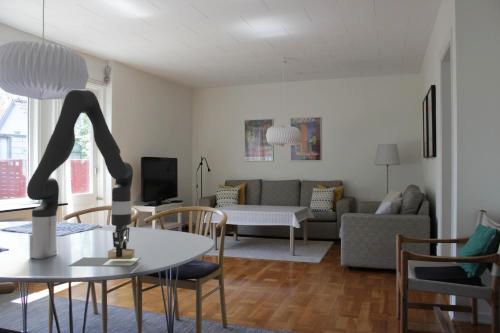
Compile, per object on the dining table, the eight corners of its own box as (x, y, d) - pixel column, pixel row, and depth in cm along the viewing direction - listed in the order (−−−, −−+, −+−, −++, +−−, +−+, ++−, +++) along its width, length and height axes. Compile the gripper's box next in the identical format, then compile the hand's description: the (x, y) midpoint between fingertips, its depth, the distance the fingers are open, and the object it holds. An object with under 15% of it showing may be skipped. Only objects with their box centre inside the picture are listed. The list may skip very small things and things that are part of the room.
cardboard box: (131, 259, 162) (131, 251, 162) (107, 259, 162) (107, 251, 162) (134, 256, 167) (134, 248, 167) (112, 256, 167) (112, 248, 167)
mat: (68, 267, 157) (68, 265, 157) (83, 258, 171) (83, 256, 171) (131, 267, 157) (131, 265, 157) (141, 258, 171) (141, 257, 171)
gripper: (125, 214, 157) (125, 260, 157) (136, 210, 171) (136, 251, 171) (105, 214, 157) (105, 259, 157) (117, 210, 171) (117, 251, 171)
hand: (121, 255), depth 164 cm, fingers closed on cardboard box, 5 cm apart
